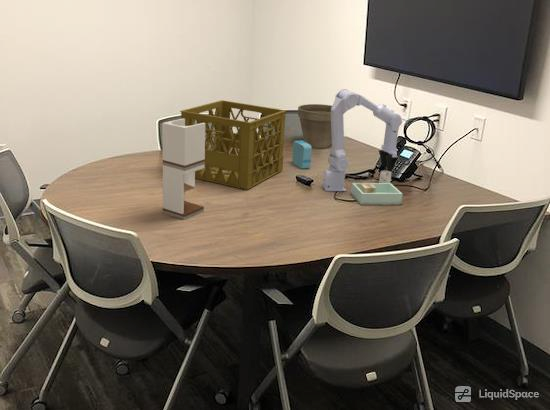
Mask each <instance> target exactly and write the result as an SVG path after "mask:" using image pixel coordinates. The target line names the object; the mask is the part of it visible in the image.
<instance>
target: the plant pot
mask: <svg viewBox="0 0 550 410" xmlns="http://www.w3.org/2000/svg"><path fill="white" fill-rule="evenodd" d="M331 108H332V105H330V104H322V103H320V104H319V103H316V104H314V103H313V104H311V103H310V104H307V103H306V104H302V105H299V106H298V107H297V117H298V118H299V121H300V126H301V128H300V129H301V132H302V138H303V141H304V142H306V143H308V144H310V145H311V147H312V149H313V148H314V149H326V148H329V147H330V146H331V145H332V132H331Z"/></svg>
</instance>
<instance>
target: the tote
mask: <svg viewBox="0 0 550 410" xmlns="http://www.w3.org/2000/svg"><path fill="white" fill-rule="evenodd" d="M361 184H372V185H374V186H375V187H376V193H363V192H362V191H361ZM350 195H351V196H352V197H353V198H354V199H355V200H356V202H358V204H359V205H361V206H390V205H391V206H394V205H395V206H401V205H402V200H403V192H401V191H400V190H399V189H398V188H397V187H396V186H394V185H393V184H392V183H391V182H390V183H379V182H352V183H351V189H350Z"/></svg>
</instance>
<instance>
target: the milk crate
mask: <svg viewBox="0 0 550 410" xmlns="http://www.w3.org/2000/svg"><path fill="white" fill-rule="evenodd" d="M233 109H237V110H239V111H238V112H237V114H236V116H235V115H234V111H233ZM213 110H215V111H213ZM245 111H249V112H254V113H259V114H261V115H262V117H261V118H255V117H252V116H251V117H250V116H246V115H244V112H245ZM179 112H180V119H183V118H184V119H185V126H192V125H195V122H197V123H196V124H200V123H205V168H203V169H200V170H197V171H195V179H197V180H201V181H207V182H211V183H214V184H221V185H224V186H229V187H234V188H237V189H241V190H250V189H251V188H253V187H255V186H257V185H258V184H261V183H262V182H263V181H266V180H268V179H270V178H271V177H273V176H275V175H277V174H279V173H280V172H282V171H283V169H284V168H283V166H284V155H283V154H284V144H285V142H284V141H285V140H284V139H285V128H286V117H287V114H286V112H287V109H279V108H273V107H266V106H260V105H254V104H249V103H248V104H246V103H242V102H241V103H240V102H235V101H229V100H222V99H220V100H217V101H214V102H210V103H206V104H202V105H198V106H193V107H190V108H187V109H182V110H180V111H179ZM203 112H208V114H203ZM240 115H241V117H242V118H243V120H239V119H238V118H239V116H240ZM231 116H232V118H231ZM249 120H252V121H249ZM210 124H211V126H209V125H210ZM266 124H267V125H266ZM234 127H235V128H236V130H237V131H236V133H235V132H232V129H233V128H234ZM264 127H265V128H266V129H264ZM257 130H258V131H257ZM209 146H211V147H209ZM230 150H231V151H230ZM214 175H215V176H214Z"/></svg>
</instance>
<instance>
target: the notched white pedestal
mask: <svg viewBox="0 0 550 410" xmlns="http://www.w3.org/2000/svg"><path fill="white" fill-rule="evenodd" d="M161 131H162V132H161V133H162V135H161V136H162V213H163V214H165V215H168V216H171V217H174V218H177V219H180V220H183V221H184V220H185V221H186V220H188V219H189V218H192V217H195V216H197V215H199V214H201V213H203V212H204V211H205V208H204V207H205V206H202V205H199V204H197V203H194V202H190V201H187V200H185V194H186V192H188V191H190V190H194V189H195V188H196V187H195V186H196V178H195V171H197V170H200V169H203V168H206V167H205V140H206V138H205V135H206V134H205V123H200V124H197V123H196V124H194V125H192V126H185V119H184V118H183V119H181V118H179V119H174V120H170V121H169V120H168V121H165V122H162V130H161Z"/></svg>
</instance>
